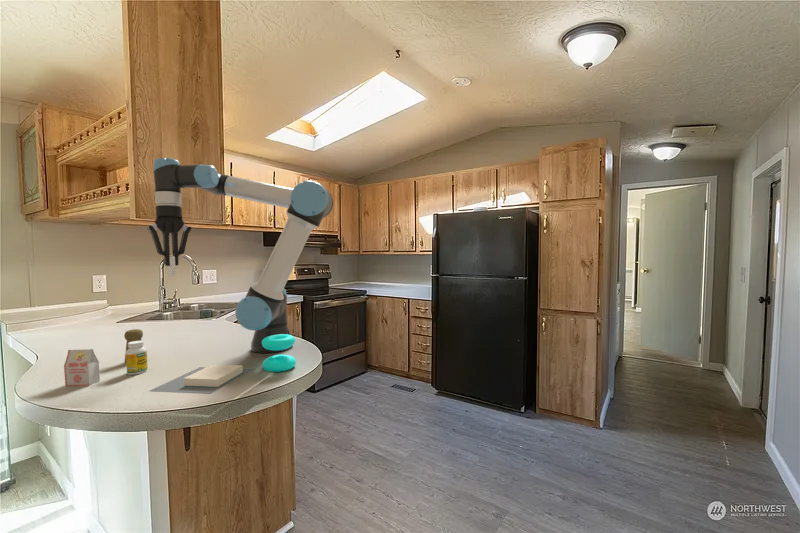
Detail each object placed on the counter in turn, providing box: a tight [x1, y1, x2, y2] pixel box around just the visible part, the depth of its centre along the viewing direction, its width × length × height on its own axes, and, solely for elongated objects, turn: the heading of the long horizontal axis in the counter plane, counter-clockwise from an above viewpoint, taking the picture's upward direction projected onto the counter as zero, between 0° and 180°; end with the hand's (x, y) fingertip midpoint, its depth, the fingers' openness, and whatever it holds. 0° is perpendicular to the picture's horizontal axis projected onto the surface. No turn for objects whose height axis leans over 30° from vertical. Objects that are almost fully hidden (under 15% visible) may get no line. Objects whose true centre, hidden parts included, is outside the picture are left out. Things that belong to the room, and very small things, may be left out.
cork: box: [123, 328, 144, 365], centre depth 128 cm, size 6×6×11 cm
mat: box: [149, 366, 253, 395], centre depth 107 cm, size 18×20×1 cm
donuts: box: [262, 334, 297, 373], centre depth 117 cm, size 10×10×10 cm
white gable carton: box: [63, 348, 101, 387], centre depth 106 cm, size 4×7×10 cm, turn 90°
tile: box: [184, 364, 244, 388], centre depth 106 cm, size 2×12×10 cm
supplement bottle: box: [125, 340, 149, 376], centre depth 116 cm, size 5×5×10 cm
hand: (172, 275), depth 127 cm, fingers closed
